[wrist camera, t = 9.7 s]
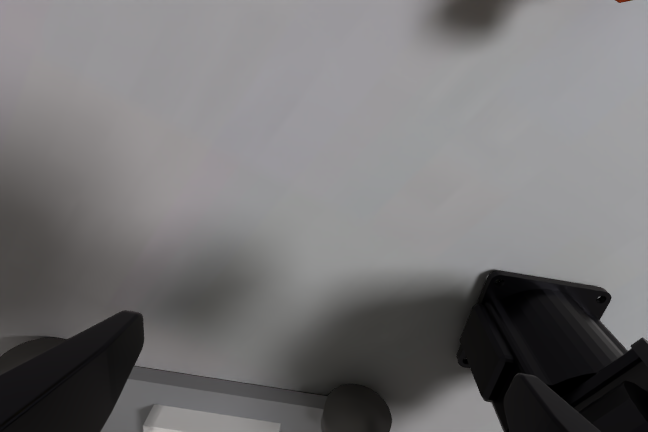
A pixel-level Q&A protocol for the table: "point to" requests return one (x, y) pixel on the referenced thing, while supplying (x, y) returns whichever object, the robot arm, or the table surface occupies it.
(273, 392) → the chassis
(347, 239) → the table surface
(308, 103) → the table surface
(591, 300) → the robot arm
